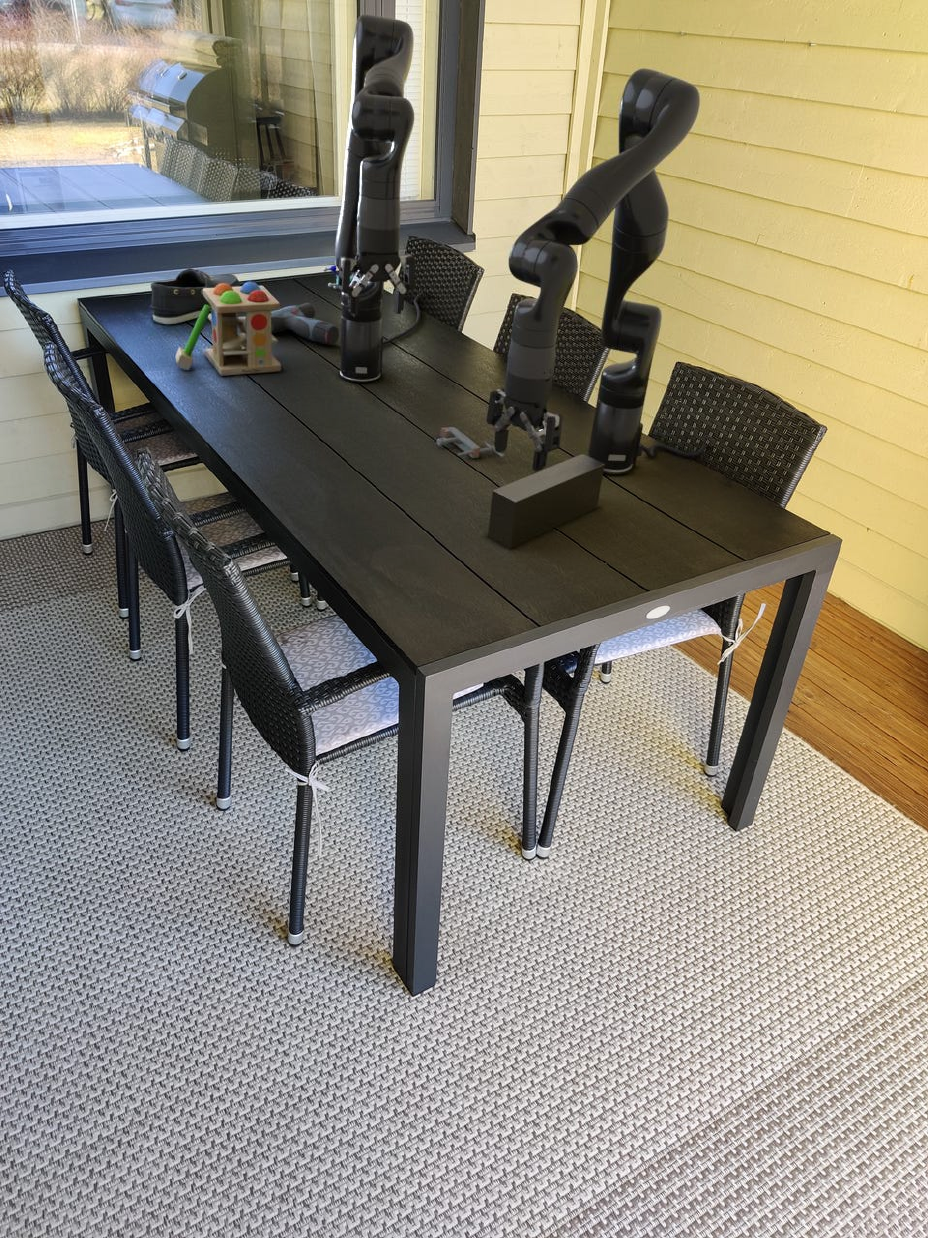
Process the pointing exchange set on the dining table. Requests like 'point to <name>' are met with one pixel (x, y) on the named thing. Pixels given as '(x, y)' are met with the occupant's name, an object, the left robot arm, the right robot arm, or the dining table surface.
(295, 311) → the power drill
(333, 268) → the molecular model
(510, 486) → the bar
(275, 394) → the dining table surface
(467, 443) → the clamp
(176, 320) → the boat shoe
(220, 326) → the pounding bench toy
